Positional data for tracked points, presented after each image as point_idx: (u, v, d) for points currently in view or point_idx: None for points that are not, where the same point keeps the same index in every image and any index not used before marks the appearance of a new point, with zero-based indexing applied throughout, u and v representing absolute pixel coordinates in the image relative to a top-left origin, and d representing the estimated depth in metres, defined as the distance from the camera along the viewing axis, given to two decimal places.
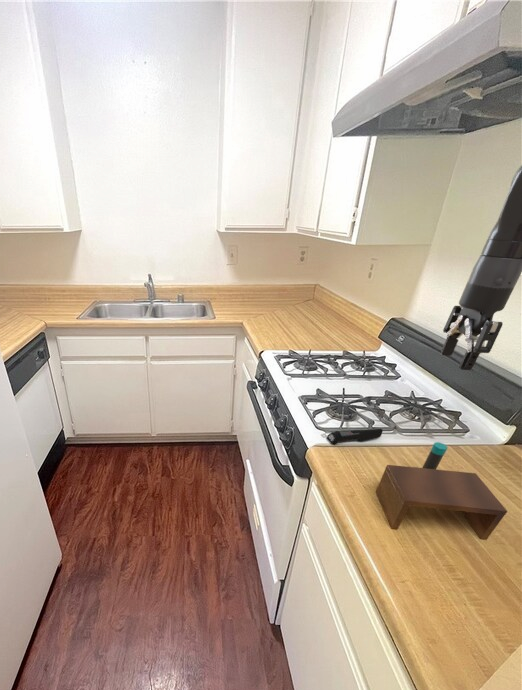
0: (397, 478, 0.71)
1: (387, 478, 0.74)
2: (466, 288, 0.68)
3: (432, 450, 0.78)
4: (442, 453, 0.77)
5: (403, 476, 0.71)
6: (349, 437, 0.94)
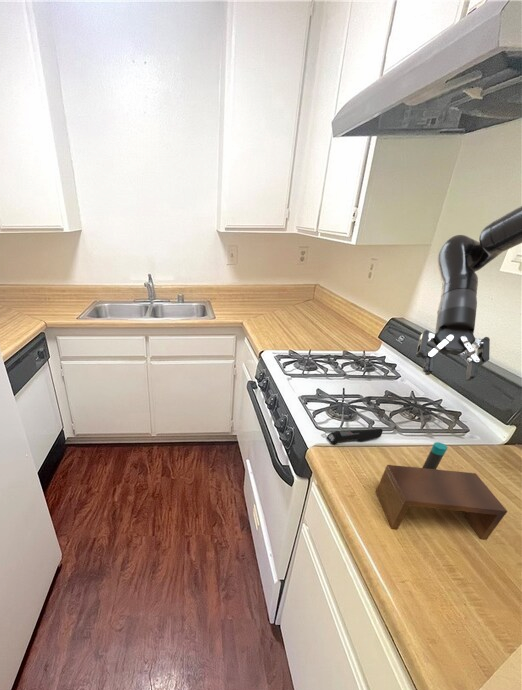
0: (397, 478, 0.71)
1: (387, 478, 0.74)
2: None
3: (432, 450, 0.78)
4: (442, 453, 0.77)
5: (403, 476, 0.71)
6: (349, 437, 0.94)
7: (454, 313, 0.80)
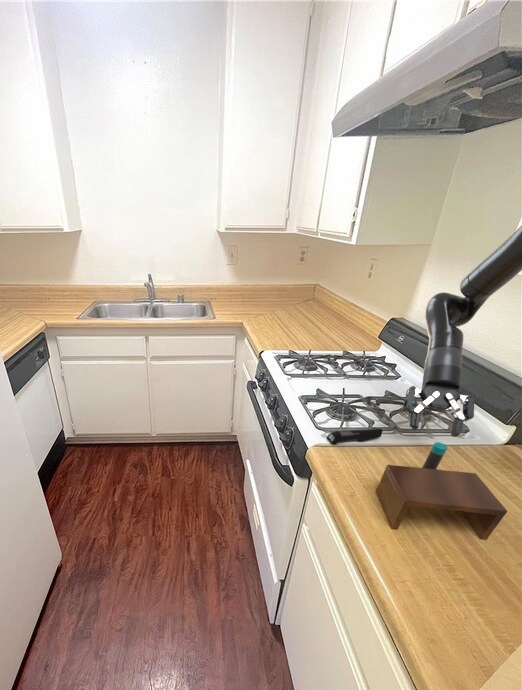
0: (397, 478, 0.71)
1: (387, 478, 0.74)
2: None
3: (432, 450, 0.78)
4: (442, 453, 0.77)
5: (403, 476, 0.71)
6: (349, 437, 0.94)
7: (439, 371, 0.82)
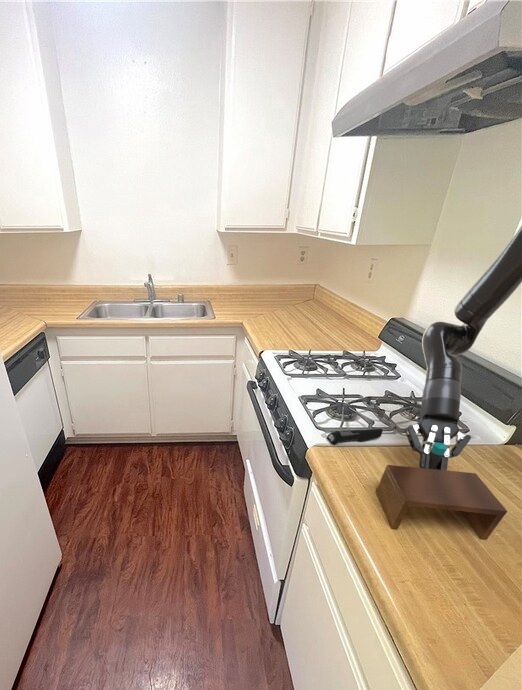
0: (397, 478, 0.71)
1: (387, 478, 0.74)
2: None
3: (432, 450, 0.78)
4: (442, 453, 0.77)
5: (403, 476, 0.71)
6: (349, 437, 0.94)
7: (438, 404, 0.79)
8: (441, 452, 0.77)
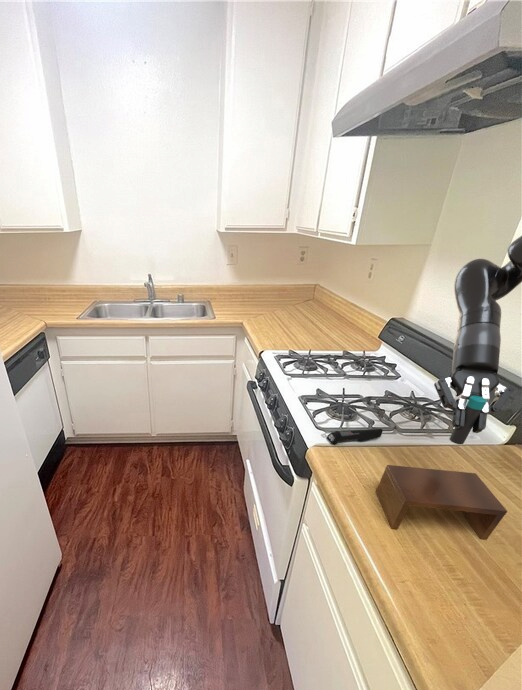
0: (397, 478, 0.71)
1: (387, 478, 0.74)
2: None
3: (468, 404, 0.68)
4: (480, 407, 0.67)
5: (403, 476, 0.71)
6: (349, 437, 0.94)
7: (474, 352, 0.69)
8: (479, 406, 0.66)
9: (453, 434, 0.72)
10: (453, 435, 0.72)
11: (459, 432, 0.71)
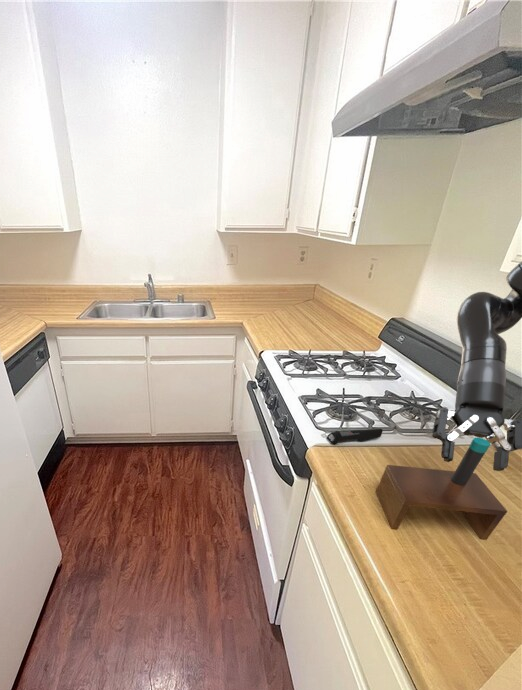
0: (397, 478, 0.71)
1: (387, 478, 0.74)
2: None
3: (471, 447, 0.66)
4: (484, 450, 0.65)
5: (403, 476, 0.71)
6: (349, 437, 0.94)
7: (479, 389, 0.66)
8: (483, 449, 0.64)
9: (455, 475, 0.70)
10: (455, 476, 0.70)
11: (461, 474, 0.68)
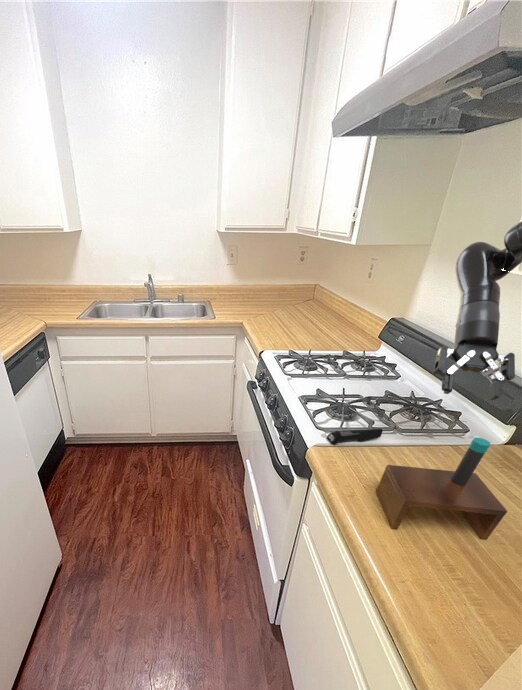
0: (397, 478, 0.71)
1: (387, 478, 0.74)
2: None
3: (471, 447, 0.66)
4: (484, 450, 0.65)
5: (403, 476, 0.71)
6: (349, 437, 0.94)
7: (475, 327, 0.74)
8: (483, 449, 0.64)
9: (455, 475, 0.70)
10: (455, 476, 0.70)
11: (461, 474, 0.68)
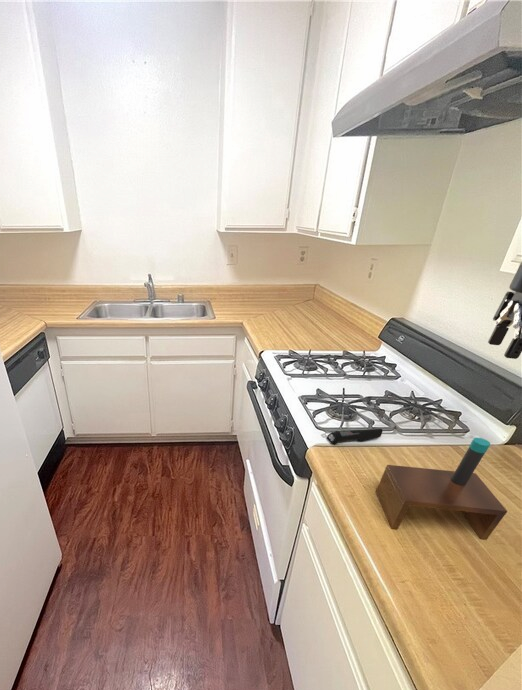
0: (397, 478, 0.71)
1: (387, 478, 0.74)
2: (518, 271, 0.65)
3: (471, 447, 0.66)
4: (484, 450, 0.65)
5: (403, 476, 0.71)
6: (349, 437, 0.94)
7: None
8: (483, 449, 0.64)
9: (455, 475, 0.70)
10: (455, 476, 0.70)
11: (461, 474, 0.68)
